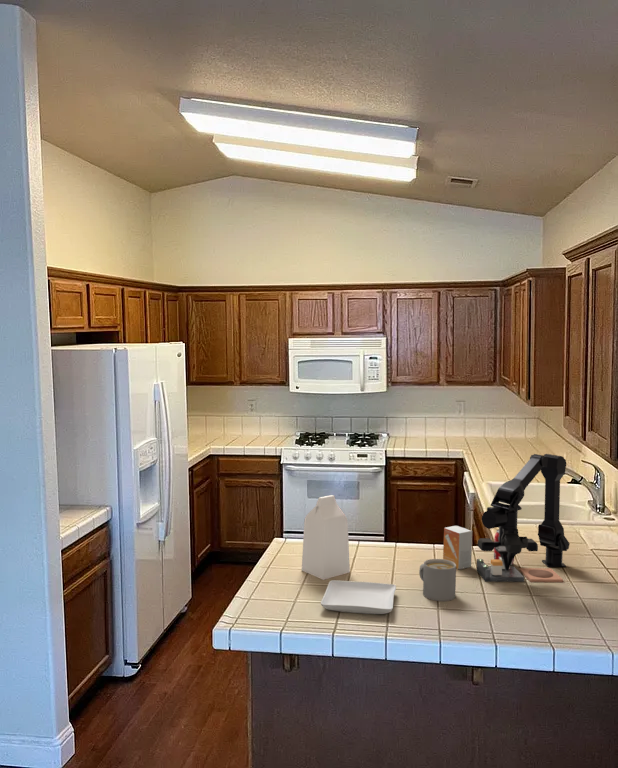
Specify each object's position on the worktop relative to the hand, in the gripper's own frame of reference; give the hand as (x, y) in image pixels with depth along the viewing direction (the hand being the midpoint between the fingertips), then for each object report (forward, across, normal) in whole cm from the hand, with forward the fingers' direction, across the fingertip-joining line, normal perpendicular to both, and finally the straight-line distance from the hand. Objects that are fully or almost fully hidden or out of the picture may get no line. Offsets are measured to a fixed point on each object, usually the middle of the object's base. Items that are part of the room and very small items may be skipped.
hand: (506, 569), depth 232 cm
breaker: (+1, -4, 0) cm, 4 cm away
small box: (+3, -13, +14) cm, 20 cm away
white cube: (+1, +1, +6) cm, 6 cm away
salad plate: (+4, -51, -21) cm, 56 cm away
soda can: (+3, +4, +15) cm, 16 cm away
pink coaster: (+3, +13, +3) cm, 13 cm away
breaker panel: (+3, -1, +3) cm, 5 cm away
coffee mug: (+3, -26, -13) cm, 30 cm away
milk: (+3, -60, +7) cm, 61 cm away
